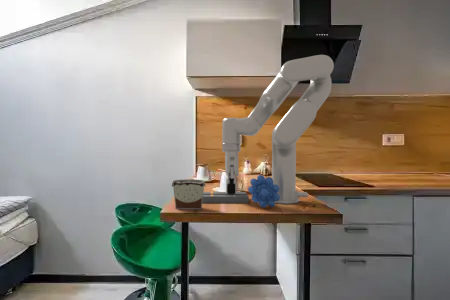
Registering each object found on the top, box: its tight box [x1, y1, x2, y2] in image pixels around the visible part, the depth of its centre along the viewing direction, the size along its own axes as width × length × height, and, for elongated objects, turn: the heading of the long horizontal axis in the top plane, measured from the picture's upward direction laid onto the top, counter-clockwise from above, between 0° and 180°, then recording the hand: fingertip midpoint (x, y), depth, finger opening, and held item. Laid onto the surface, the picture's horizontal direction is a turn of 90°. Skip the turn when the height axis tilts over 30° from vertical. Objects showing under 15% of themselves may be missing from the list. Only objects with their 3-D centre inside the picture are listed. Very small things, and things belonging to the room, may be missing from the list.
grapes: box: [247, 174, 280, 209], centre depth 129 cm, size 12×7×12 cm, turn 86°
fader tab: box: [225, 177, 237, 195], centre depth 145 cm, size 4×3×7 cm
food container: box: [171, 178, 207, 210], centre depth 130 cm, size 12×6×10 cm, turn 84°
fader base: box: [202, 191, 249, 204], centre depth 145 cm, size 19×12×3 cm, turn 92°
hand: (231, 192), depth 145 cm, fingers closed on fader tab, 3 cm apart
